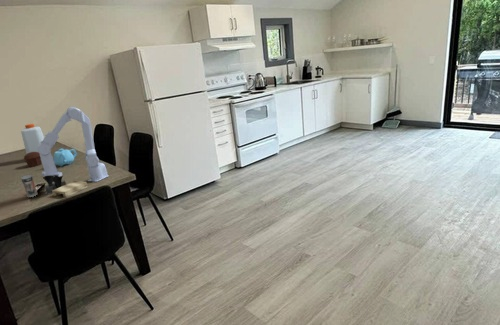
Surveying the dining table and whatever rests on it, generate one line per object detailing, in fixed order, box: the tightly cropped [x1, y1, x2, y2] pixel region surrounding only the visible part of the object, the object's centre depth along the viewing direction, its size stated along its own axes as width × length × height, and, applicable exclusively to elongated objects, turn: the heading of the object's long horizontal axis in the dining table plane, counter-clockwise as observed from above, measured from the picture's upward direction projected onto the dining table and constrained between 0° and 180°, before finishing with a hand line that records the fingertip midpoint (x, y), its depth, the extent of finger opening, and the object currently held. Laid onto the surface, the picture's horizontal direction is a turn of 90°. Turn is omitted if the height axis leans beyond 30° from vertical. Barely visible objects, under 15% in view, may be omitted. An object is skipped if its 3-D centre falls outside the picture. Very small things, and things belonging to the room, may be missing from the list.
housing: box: [44, 179, 67, 195], centre depth 181 cm, size 12×5×5 cm, turn 157°
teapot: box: [53, 148, 78, 168], centre depth 231 cm, size 20×17×12 cm
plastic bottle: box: [20, 123, 45, 155], centre depth 256 cm, size 15×15×28 cm
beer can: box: [20, 174, 38, 198], centre depth 173 cm, size 5×5×12 cm
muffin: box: [23, 152, 43, 168], centre depth 239 cm, size 12×11×10 cm
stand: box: [52, 180, 89, 198], centre depth 176 cm, size 14×10×3 cm
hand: (56, 187), depth 181 cm, fingers closed on housing, 5 cm apart
